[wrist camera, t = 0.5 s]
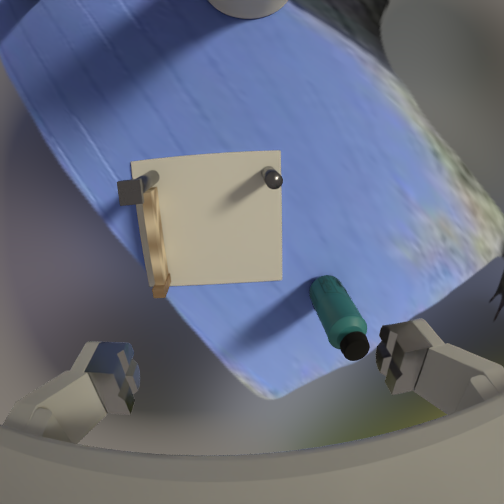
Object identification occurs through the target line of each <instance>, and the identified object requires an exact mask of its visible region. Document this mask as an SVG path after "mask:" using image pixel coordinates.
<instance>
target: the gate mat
mask: <svg viewBox="0 0 504 504" xmlns="http://www.w3.org/2000/svg"><path fill="white" fill-rule="evenodd" d="M266 166H271V167H273V168H274V169H275V170H276V171H277V172H278V173H279V174H280V175H281V152H280V150H279V151H249V152H229V153H214V154H200V155H188V156H177V157H167V158H158V159H149V160H140V161H133V162H131V168H132V177H133V179H136V178H138V177H140V176H141V175H143V174H145V173H147V172H148V171H150V170H155V171H157V172H158V174H159V181H158V182H157V183H156V184H155V185H154V186H152V187H157V189H158V198H159V207H160V215H161V223H162V231H163V238H164V245H165V252H166V259H167V266H168V272H169V273H170V276H171V283H170V286H184V285H205V284H225V283H243V282H260V281H276V280H282V200H281V187H280V188H278V189H270V188H269V187H268V186H267V185H266V183H265V181H264V179H263V177H262V175H261V171H262V169H263V168H264V167H266ZM136 209H137V216H138V223H139V230H140V236H141V243H142V249H143V255H144V260H145V266H146V271H147V277H148V282H149V286H150V287H154V284H155V280H154V275H153V269H152V263H151V257H150V251H149V245H148V239H147V232H146V225H145V218H144V211H143V204H136Z"/></svg>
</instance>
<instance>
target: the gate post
mask: <svg viewBox="0 0 504 504" xmlns="http://www.w3.org/2000/svg"><path fill="white" fill-rule="evenodd" d="M158 181H159V174H158V172H157V171H155V170H150V171H148V172H147V173H145V174H143V175H141V176H140V177H138V178H136V179H131V180H123V181H118V182H117V187H118V194H119V201H120V206H124V205H134V204H143V203H144V196H143V193H145V192H146V191H147V190H148V189H150V188H151V187H152V186H154V185H155V184H156V183H157V182H158Z"/></svg>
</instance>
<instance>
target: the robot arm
mask: <svg viewBox="0 0 504 504" xmlns="http://www.w3.org/2000/svg"><path fill="white" fill-rule="evenodd" d="M208 1H209V2H210V3H211V4H212V5H213V6H214V7H215V8H216V9H218V10H219V11H221V12H223V13H225V14H227V15H229V16H233V17H237V18H244V19H253V18H260V17H265V16H268V15H270V14H272V13H274V12H276V11H278V10H279V9H280V8H282V7H283V6H284V5H285V4H286V2H287V1H288V0H208ZM379 336H380V338H381V340H382V341H381V342H380V344H379V345H378V346H377V349H376V363H377V367H378V369H379V371H380V373H382V374H384V375H385V376H386V380H385V383H386V385H387V387H388V388H389V390H390V392H391V394H392V395H394V394H399V393H404V392H408V391H412V390H414V392H416V393H417V394H419V395H420V396H422V397H423V398H424V399H426V400H427V401H429V402H430V403H432V404H433V405H435V406H436V407H438V408H439V409H440V410H442V411H443V412H445V413H446V414H448V415H446V416H443V417H440V418H438V419H435V420H432V421H428V422H425V423H422V424H419V425H415V426H412V427H409V428H405V429H401V430H398V431H394V432H390V433H386V434H382V435H378V436H374V437H370V438H366V439H361V440H355V441H350V442H345V443H340V444H334V445H328V446H322V447H316V448H309V449H301V450H294V451H285V452H274V453H263V454H247V455H219V456H194V455H166V454H151V453H139V452H128V451H120V450H112V449H105V448H98V447H91V446H86V445H80V444H77V443H78V442H80V440H82V439H83V438H84V437H85V436H86V435H87V434H88V433H89V432H90V431H91V430H92V429H93V428H94V427H95V426H96V425H97V424H98V423H99V422H100V421H101V420H102V419H103V418H104V417H105V416H106V415H107V413H109V414H125V415H131V412H132V409H133V405H134V402H135V399H134V396H133V394H134V393H135V392H137V391H138V388H139V385H140V372H139V368H138V364H137V363H136V362H135V361H134V360H133V359H132V356H133V354H134V352H133V349H132V346H131V345H130V344H129V343H119V342H94V341H89V342H87V343H86V344H85V346H84V347H83V349H82V351H81V352H80V354H79V356H78V357H77V359H76V361H75V363H74V365H73V366H72V368H71V370H70V371H65V372H63V373H62V374H60V375H59V376H57V377H55V378H54V379H52V380H50V381H49V382H47V383H46V384H44V385H43V386H41V387H39V388H38V389H36V390H34V391H33V392H31V393H29V394H28V395H26V396H25V397H23V398H21V399H20V400H18V401H17V402H16V403H15V404H14V406H13V408H12V409H11V411H10V413H9V415H8V416H7V418H6V420H5V422H4V423H3V425H0V504H504V368H503V367H502V366H501V365H499V364H496V363H494V362H492V361H489V360H487V359H484V358H482V357H480V356H477V355H475V354H472V353H470V352H468V351H465V350H463V349H461V348H458V347H456V346H453V345H451V344H449V343H448V344H444V342H443V341H442V340H441V339H440V338H439V337H438V335H437V334H436V333H435V332H434V330H433V329H432V328H431V327H430V326H429V325H428V323H427V322H426V321H425V320H424V319H422V318H420V319H415V320H410V321H408V322H402V323H396V324H389V325H383V326H382V328H381V330H380V334H379Z"/></svg>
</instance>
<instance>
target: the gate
mask: <svg viewBox="0 0 504 504" xmlns="http://www.w3.org/2000/svg"><path fill="white" fill-rule="evenodd" d="M143 196H144V203H143V211H144V218H145V225H146V232H147V239H148V245H149V251H150V257H151V263H152V269H153V275H154V280H155V284H154V287H153V289H152V292H153V297H154V298H165V297H166V294H167V292H168V289H169V286H170V283H171V276H170V273H169V272H168V266H167V259H166V252H165V245H164V238H163V231H162V223H161V215H160V207H159V198H158V189H157V187H151V188H150V189H148V190H147V191H146V192H145V193H143Z"/></svg>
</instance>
